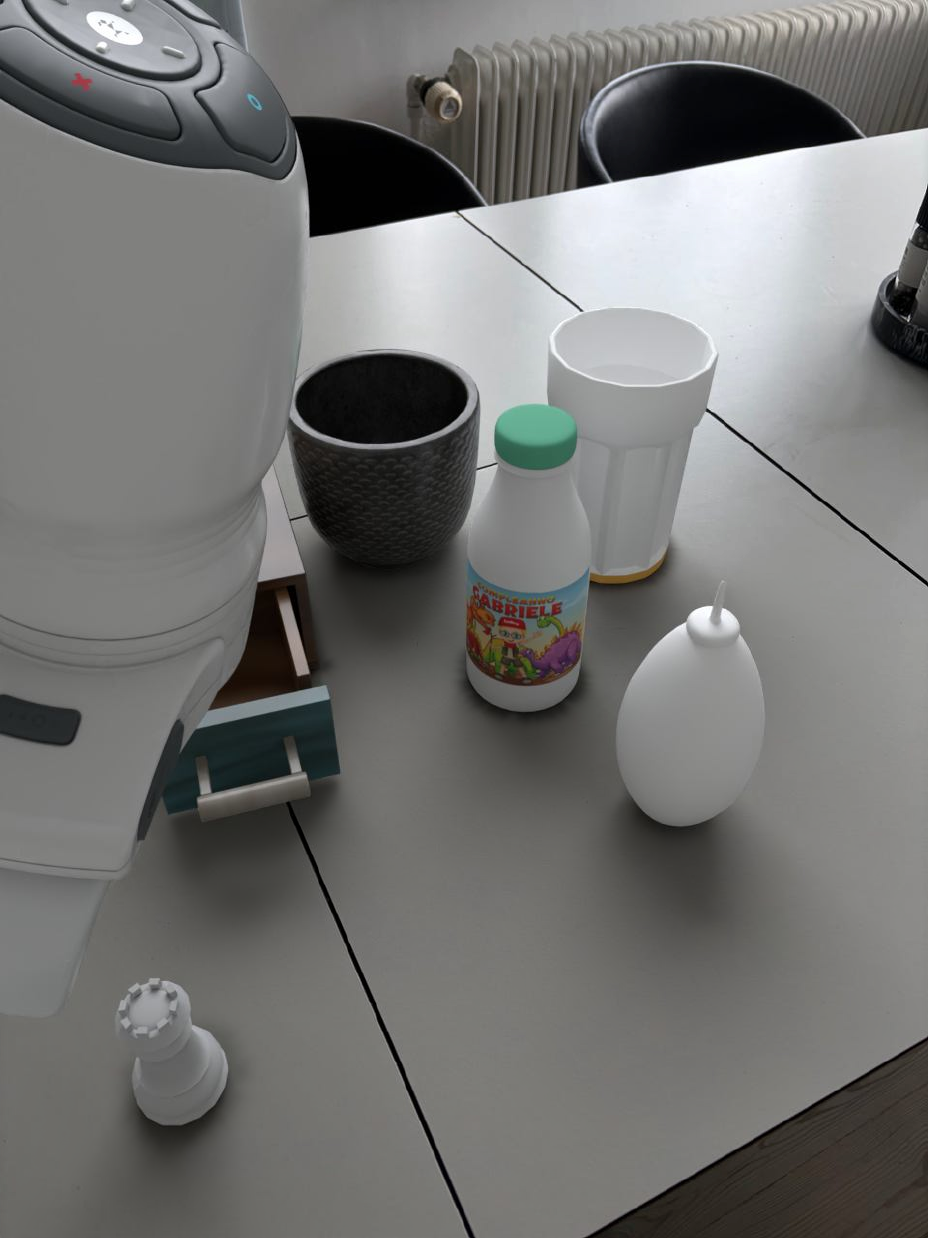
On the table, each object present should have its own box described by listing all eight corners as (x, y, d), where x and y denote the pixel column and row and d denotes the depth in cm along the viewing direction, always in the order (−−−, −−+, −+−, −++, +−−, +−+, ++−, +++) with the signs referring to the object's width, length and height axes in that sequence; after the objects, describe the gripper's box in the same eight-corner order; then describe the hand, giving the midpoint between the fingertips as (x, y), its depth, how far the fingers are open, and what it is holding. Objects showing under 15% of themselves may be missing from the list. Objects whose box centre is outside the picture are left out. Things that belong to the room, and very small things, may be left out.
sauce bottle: (586, 772, 63) (615, 549, 50) (697, 740, 65) (752, 517, 52) (642, 875, 57) (691, 653, 45) (762, 837, 59) (840, 614, 47)
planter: (378, 624, 73) (365, 476, 64) (267, 535, 80) (243, 392, 71) (515, 541, 79) (521, 398, 71) (402, 467, 87) (395, 328, 78)
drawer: (355, 828, 59) (346, 754, 54) (174, 874, 56) (148, 801, 52) (300, 628, 71) (289, 553, 66) (150, 659, 69) (127, 584, 64)
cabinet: (319, 667, 69) (305, 572, 64) (147, 704, 67) (117, 609, 61) (283, 540, 80) (269, 449, 74) (133, 568, 77) (105, 476, 71)
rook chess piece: (156, 1149, 47) (115, 1078, 41) (123, 1068, 49) (80, 991, 44) (245, 1095, 49) (216, 1019, 43) (208, 1019, 51) (177, 939, 46)
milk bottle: (468, 633, 72) (468, 384, 58) (576, 635, 72) (602, 387, 58) (464, 714, 66) (463, 461, 53) (581, 717, 66) (611, 464, 52)
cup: (521, 511, 82) (530, 312, 70) (653, 496, 84) (684, 299, 72) (555, 603, 74) (572, 395, 62) (701, 584, 76) (745, 378, 64)
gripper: (106, 354, 36) (103, 597, 47) (-173, 868, 23) (-92, 1051, 33) (278, 401, 37) (238, 629, 48) (107, 920, 24) (102, 1083, 34)
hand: (101, 806), depth 40 cm, fingers open, 8 cm apart
